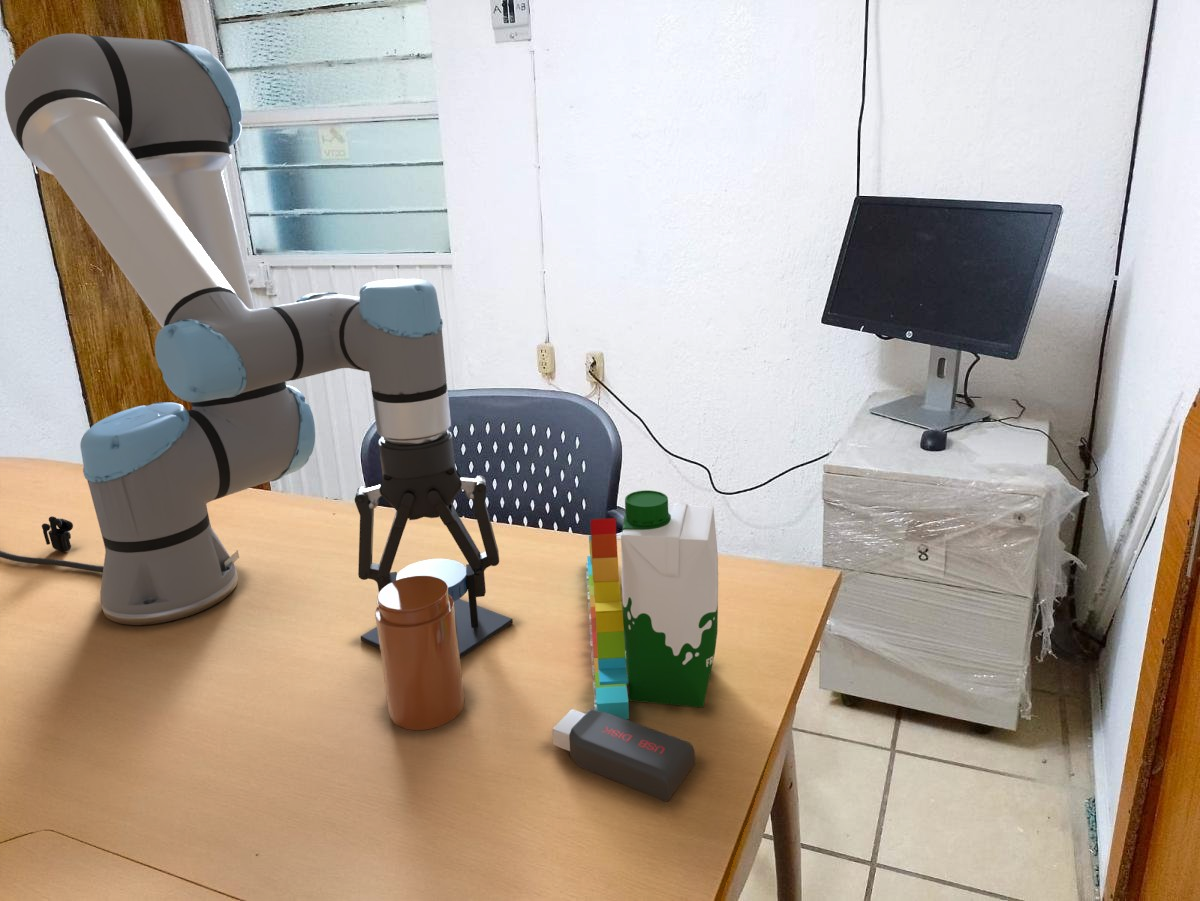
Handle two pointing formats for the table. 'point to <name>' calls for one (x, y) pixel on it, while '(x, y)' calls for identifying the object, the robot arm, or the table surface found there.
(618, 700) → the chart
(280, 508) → the table surface
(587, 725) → the usb drive
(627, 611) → the milk carton
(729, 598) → the table surface
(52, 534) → the wireless earbuds
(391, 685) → the jar
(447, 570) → the lid
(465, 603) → the mat
